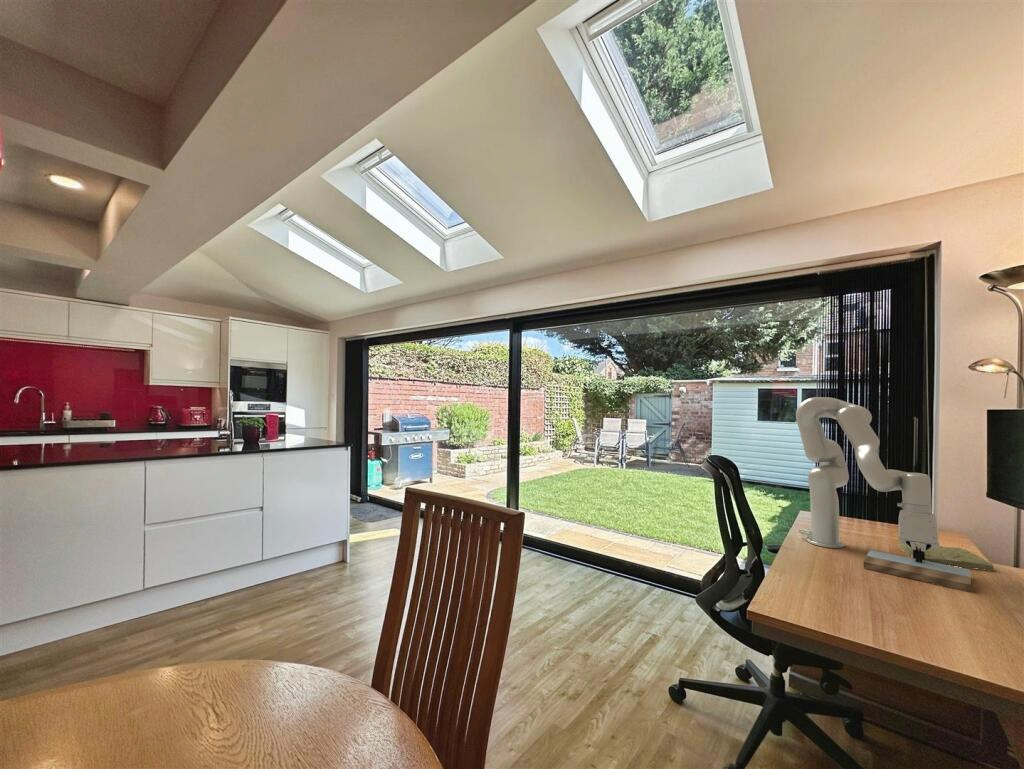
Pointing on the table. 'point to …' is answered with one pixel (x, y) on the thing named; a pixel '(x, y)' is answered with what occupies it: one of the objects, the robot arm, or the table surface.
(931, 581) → the walnut plank
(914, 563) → the grey-blue plank
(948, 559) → the decorative tile
